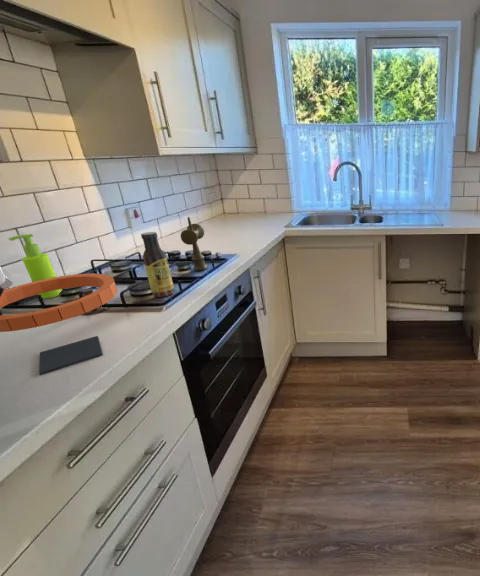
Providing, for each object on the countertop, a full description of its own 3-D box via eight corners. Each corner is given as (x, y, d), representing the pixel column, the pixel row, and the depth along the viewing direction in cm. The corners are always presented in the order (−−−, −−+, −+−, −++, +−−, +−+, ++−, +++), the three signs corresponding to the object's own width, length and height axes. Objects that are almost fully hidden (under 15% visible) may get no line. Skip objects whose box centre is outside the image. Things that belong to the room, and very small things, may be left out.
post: (80, 317, 101) (72, 297, 99) (78, 309, 106) (71, 290, 104) (110, 309, 105) (103, 290, 103) (107, 302, 110) (100, 283, 108)
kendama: (212, 264, 141) (200, 213, 133) (206, 273, 132) (193, 219, 125) (195, 266, 140) (183, 214, 132) (188, 274, 131) (174, 220, 123)
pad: (39, 374, 77) (39, 373, 76) (40, 353, 84) (39, 352, 84) (102, 354, 83) (102, 353, 83) (97, 337, 91) (97, 335, 91)
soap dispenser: (32, 297, 116) (5, 236, 108) (59, 289, 121) (35, 231, 113) (38, 301, 112) (10, 239, 105) (65, 293, 118) (41, 233, 110)
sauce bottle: (163, 299, 111) (145, 236, 104) (148, 297, 113) (129, 235, 106) (180, 291, 117) (164, 231, 109) (165, 289, 119) (149, 230, 111)
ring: (-40, 346, 63) (-47, 333, 62) (-18, 303, 80) (-24, 292, 79) (123, 305, 77) (119, 294, 76) (111, 276, 94) (108, 266, 93)
